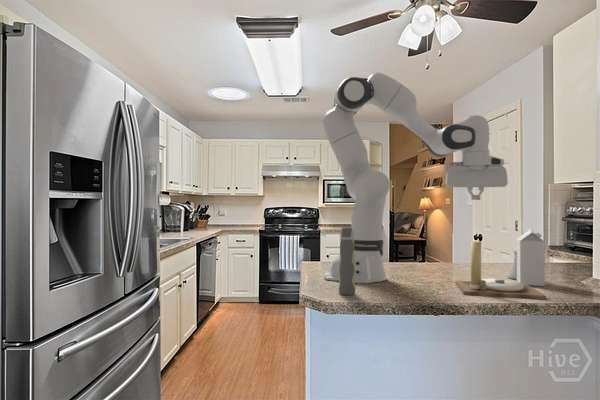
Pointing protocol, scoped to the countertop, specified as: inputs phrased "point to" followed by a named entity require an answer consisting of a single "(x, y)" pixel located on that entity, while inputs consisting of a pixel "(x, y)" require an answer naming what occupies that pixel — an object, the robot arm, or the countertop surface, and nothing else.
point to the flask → (513, 268)
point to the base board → (525, 293)
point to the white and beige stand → (490, 283)
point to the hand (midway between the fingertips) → (475, 199)
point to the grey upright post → (347, 262)
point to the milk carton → (531, 259)
